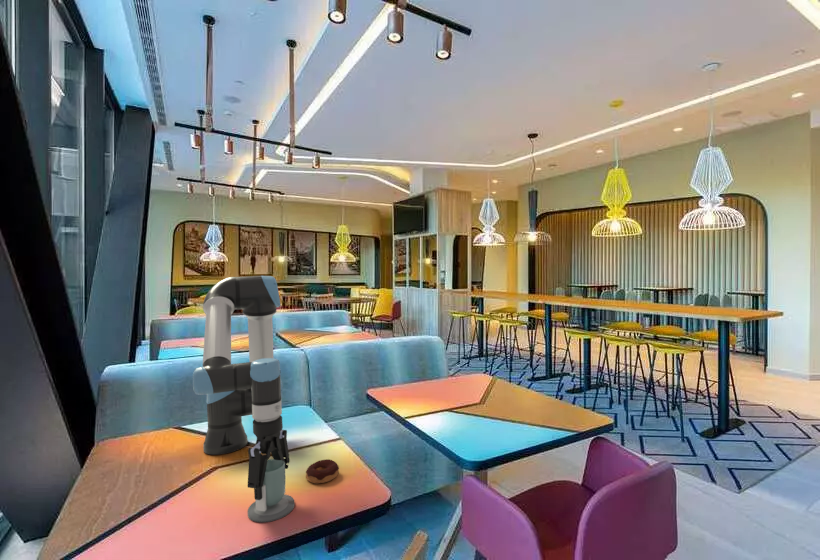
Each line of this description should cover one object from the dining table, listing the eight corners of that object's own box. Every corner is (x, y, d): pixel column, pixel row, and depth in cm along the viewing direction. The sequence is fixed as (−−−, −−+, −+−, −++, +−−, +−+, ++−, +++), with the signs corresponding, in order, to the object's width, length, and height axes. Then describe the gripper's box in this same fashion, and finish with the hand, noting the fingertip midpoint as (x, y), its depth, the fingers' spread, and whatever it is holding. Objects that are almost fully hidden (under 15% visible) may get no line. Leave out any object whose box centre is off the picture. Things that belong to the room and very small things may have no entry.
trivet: (237, 518, 106) (237, 515, 106) (266, 494, 117) (266, 491, 117) (277, 525, 102) (277, 521, 102) (303, 499, 114) (302, 496, 114)
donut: (308, 488, 120) (308, 475, 120) (303, 474, 129) (303, 461, 129) (342, 480, 124) (341, 467, 124) (335, 467, 133) (334, 455, 133)
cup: (276, 511, 105) (275, 473, 105) (249, 509, 107) (248, 471, 106) (291, 495, 113) (289, 459, 113) (265, 493, 114) (264, 458, 114)
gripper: (254, 433, 98) (258, 526, 99) (300, 405, 118) (303, 483, 118) (228, 430, 101) (232, 521, 101) (278, 404, 120) (281, 480, 121)
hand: (271, 501), depth 110 cm, fingers closed on cup, 8 cm apart
